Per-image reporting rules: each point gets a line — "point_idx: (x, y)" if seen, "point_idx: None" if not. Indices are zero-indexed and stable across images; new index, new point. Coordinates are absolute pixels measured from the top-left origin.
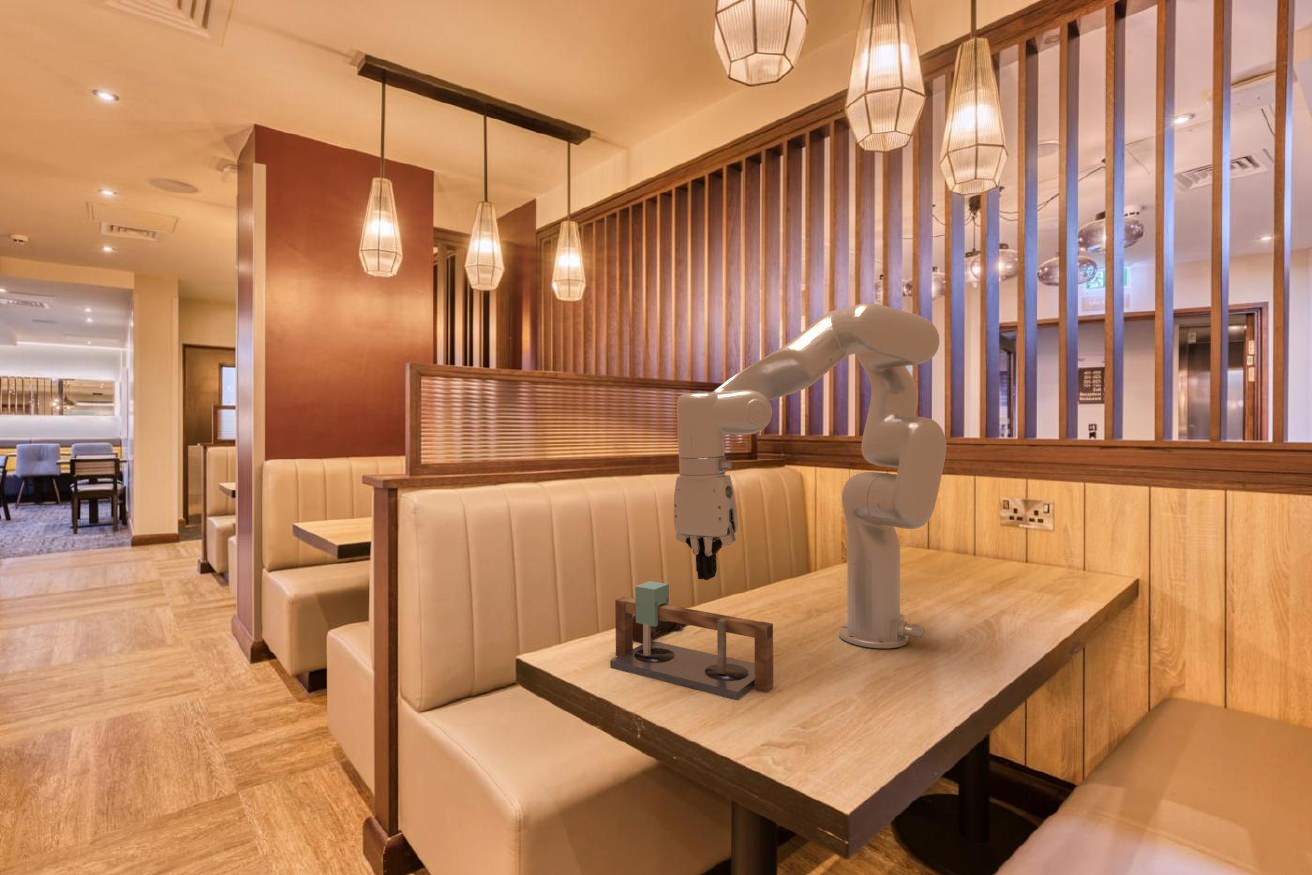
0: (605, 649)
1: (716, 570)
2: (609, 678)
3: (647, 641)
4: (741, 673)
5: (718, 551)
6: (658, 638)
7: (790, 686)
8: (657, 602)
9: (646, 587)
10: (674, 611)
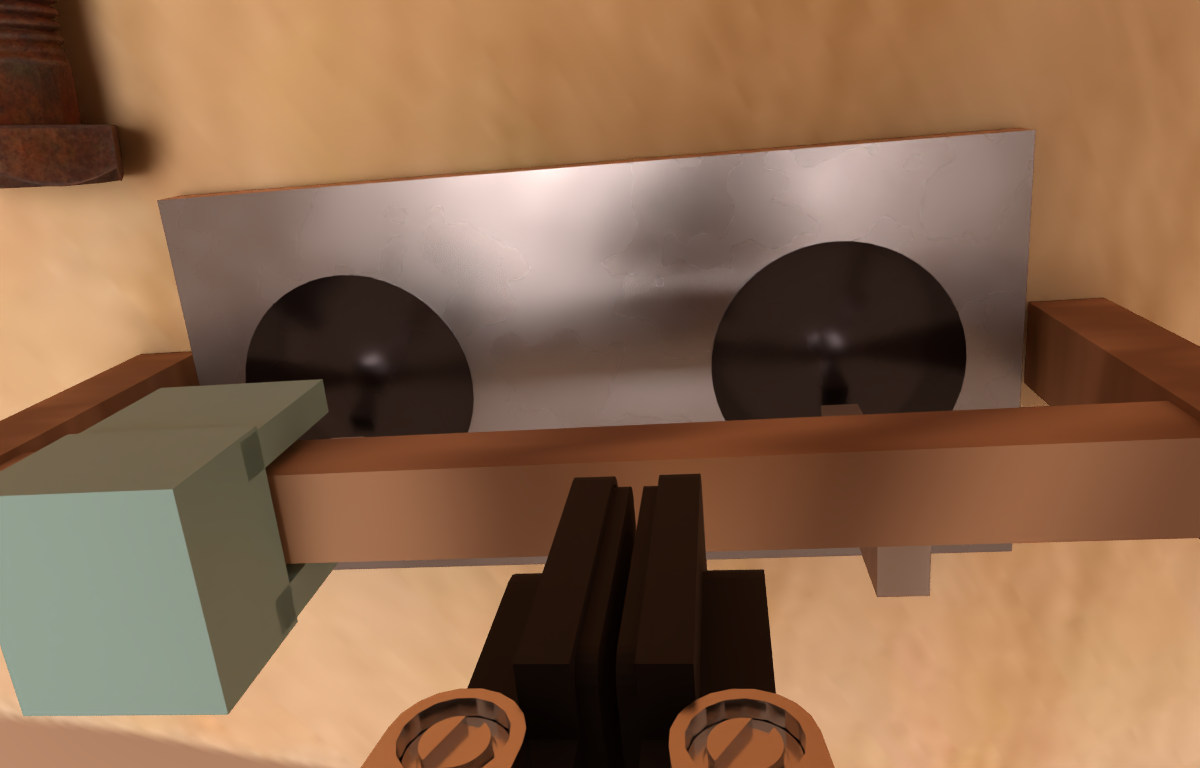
0: (42, 382)
1: (762, 573)
2: (359, 650)
3: None
4: (922, 339)
5: (808, 718)
6: (97, 29)
7: (1190, 226)
8: (276, 600)
9: (123, 698)
10: (443, 555)
